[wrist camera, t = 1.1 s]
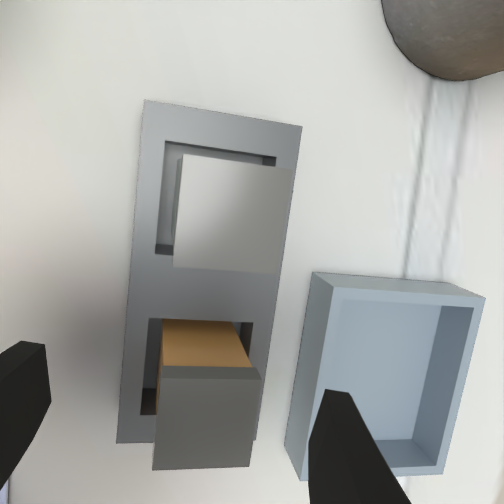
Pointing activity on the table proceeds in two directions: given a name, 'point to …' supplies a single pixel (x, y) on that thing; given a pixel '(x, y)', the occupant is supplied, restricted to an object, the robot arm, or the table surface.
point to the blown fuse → (203, 397)
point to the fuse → (229, 214)
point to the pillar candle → (449, 35)
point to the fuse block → (184, 278)
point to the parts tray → (386, 364)
